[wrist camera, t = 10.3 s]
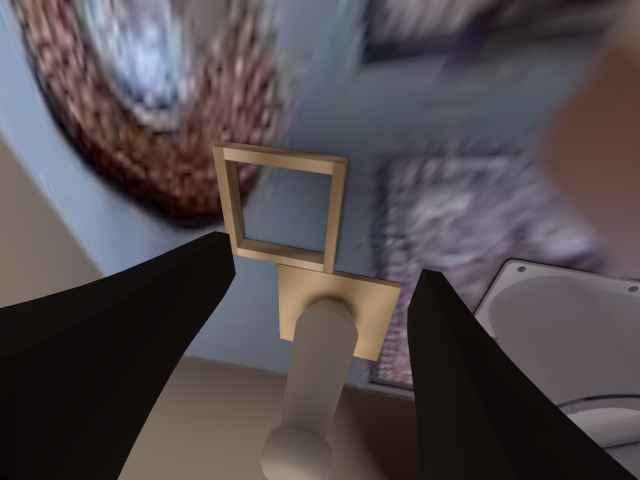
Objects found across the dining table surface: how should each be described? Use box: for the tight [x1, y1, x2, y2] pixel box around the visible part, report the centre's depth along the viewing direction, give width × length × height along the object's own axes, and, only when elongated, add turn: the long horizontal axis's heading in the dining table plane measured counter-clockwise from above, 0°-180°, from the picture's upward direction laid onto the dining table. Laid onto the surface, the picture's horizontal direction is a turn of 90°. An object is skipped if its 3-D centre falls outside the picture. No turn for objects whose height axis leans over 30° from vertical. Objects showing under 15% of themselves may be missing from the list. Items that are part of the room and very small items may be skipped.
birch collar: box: [212, 141, 349, 274], centre depth 20 cm, size 9×9×2 cm
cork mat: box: [278, 263, 401, 361], centre depth 26 cm, size 11×11×1 cm
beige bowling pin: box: [261, 298, 358, 480], centre depth 20 cm, size 6×6×13 cm
